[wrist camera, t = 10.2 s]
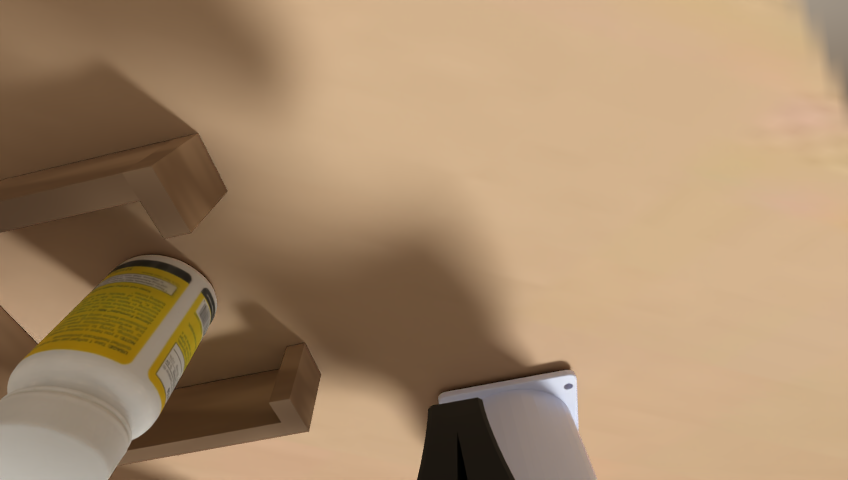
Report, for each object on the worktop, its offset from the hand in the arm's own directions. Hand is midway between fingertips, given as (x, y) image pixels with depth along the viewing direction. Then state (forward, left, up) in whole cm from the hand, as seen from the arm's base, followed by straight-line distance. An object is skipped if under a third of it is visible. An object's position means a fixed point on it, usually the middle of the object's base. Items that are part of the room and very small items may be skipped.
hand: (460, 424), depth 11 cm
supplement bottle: (0, +13, -10) cm, 16 cm away
